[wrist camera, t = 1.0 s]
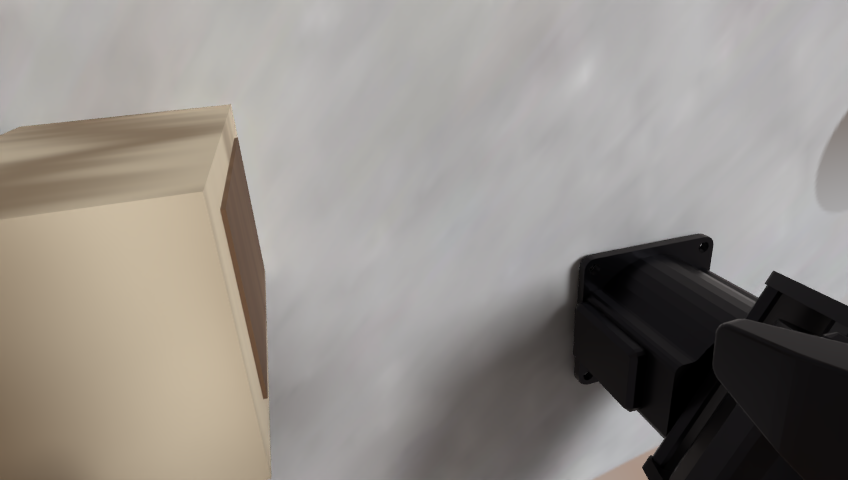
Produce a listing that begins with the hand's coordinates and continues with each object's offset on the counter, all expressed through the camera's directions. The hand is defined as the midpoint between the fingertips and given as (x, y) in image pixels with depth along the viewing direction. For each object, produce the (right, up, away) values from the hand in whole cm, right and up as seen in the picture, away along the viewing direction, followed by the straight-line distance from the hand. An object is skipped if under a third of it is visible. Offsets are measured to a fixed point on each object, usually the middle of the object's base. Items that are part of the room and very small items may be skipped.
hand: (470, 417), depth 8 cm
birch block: (-10, +4, +10) cm, 14 cm away
